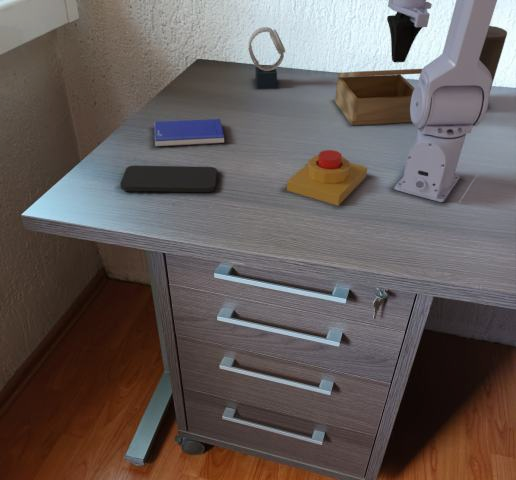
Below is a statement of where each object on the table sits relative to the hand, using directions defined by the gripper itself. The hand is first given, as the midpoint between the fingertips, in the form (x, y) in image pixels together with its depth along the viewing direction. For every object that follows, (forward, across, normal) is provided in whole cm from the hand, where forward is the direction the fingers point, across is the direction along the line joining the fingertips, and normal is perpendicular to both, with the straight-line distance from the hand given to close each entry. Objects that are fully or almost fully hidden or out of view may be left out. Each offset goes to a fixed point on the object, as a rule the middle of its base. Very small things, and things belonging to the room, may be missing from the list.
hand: (398, 61), depth 98 cm
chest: (+10, +4, +2) cm, 11 cm away
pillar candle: (+11, +5, -18) cm, 22 cm away
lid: (+3, +3, +2) cm, 5 cm away
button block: (+10, -25, +19) cm, 33 cm away
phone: (+10, -21, +44) cm, 50 cm away
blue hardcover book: (+11, -3, +40) cm, 42 cm away
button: (+7, -25, +19) cm, 32 cm away
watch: (+11, +22, +21) cm, 32 cm away
